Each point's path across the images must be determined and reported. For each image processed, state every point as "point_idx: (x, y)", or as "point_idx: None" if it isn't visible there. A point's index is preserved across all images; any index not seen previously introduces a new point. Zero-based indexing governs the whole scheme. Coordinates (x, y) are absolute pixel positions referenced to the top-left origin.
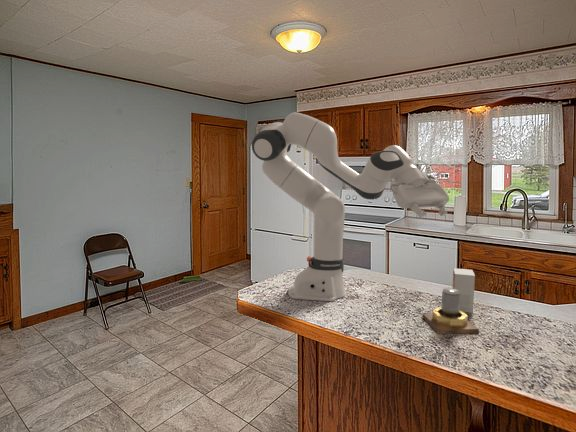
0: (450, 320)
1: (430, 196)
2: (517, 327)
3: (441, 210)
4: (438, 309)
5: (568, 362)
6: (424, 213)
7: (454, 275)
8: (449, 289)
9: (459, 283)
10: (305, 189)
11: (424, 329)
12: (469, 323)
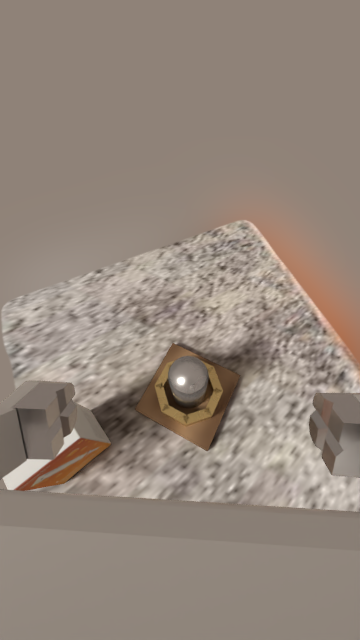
0: (213, 367)
1: (7, 637)
2: (94, 330)
3: (53, 412)
4: (192, 415)
5: (155, 251)
6: (339, 393)
7: (78, 441)
8: (183, 382)
9: (83, 427)
10: None
11: (250, 401)
12: (165, 365)
